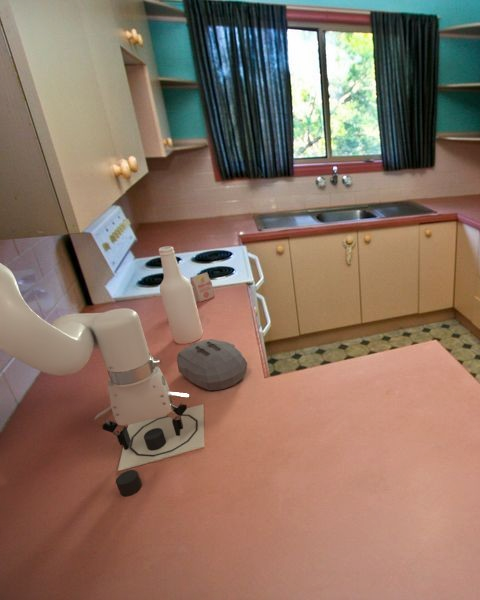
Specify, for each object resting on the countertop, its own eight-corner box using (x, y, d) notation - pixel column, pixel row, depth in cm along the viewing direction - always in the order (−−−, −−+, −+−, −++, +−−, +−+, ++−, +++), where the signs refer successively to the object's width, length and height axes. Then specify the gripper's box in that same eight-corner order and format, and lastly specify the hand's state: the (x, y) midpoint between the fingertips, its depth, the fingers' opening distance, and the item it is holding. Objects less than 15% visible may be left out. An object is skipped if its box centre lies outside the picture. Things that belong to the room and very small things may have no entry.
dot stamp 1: (118, 499, 79) (114, 487, 77) (121, 485, 82) (117, 473, 80) (140, 492, 80) (136, 480, 79) (143, 478, 83) (138, 467, 82)
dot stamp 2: (146, 452, 89) (142, 441, 88) (148, 441, 92) (144, 430, 91) (165, 447, 90) (162, 436, 89) (166, 436, 93) (163, 426, 92)
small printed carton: (193, 300, 164) (187, 276, 160) (209, 295, 169) (204, 271, 165) (198, 302, 162) (193, 278, 158) (214, 297, 167) (209, 273, 163)
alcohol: (167, 342, 134) (141, 251, 122) (188, 330, 141) (165, 242, 130) (189, 346, 131) (165, 253, 119) (209, 333, 139) (188, 244, 127)
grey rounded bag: (171, 374, 117) (209, 402, 105) (164, 348, 113) (201, 373, 102) (222, 352, 127) (261, 374, 116) (216, 327, 124) (256, 348, 112)
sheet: (118, 471, 85) (117, 470, 85) (129, 423, 98) (128, 422, 98) (204, 447, 91) (204, 445, 90) (203, 405, 104) (203, 403, 104)
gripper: (180, 351, 90) (197, 416, 97) (84, 371, 84) (109, 439, 91) (179, 369, 84) (197, 437, 90) (74, 391, 77) (103, 463, 84)
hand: (153, 438), depth 90 cm, fingers open, 9 cm apart
